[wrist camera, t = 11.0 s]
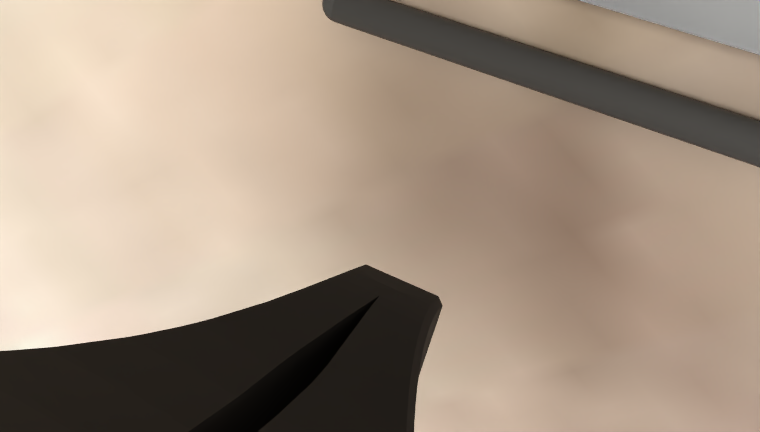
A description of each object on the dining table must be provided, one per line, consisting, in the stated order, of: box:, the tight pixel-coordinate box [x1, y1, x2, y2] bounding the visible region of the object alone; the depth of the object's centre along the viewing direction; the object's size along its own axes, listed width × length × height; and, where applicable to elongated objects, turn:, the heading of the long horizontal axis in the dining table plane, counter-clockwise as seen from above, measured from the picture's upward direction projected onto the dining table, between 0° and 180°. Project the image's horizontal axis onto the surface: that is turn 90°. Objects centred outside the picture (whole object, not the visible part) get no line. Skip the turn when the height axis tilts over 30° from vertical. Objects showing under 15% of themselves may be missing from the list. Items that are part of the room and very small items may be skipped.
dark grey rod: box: [322, 0, 760, 167], centre depth 17 cm, size 21×1×1 cm, turn 76°
